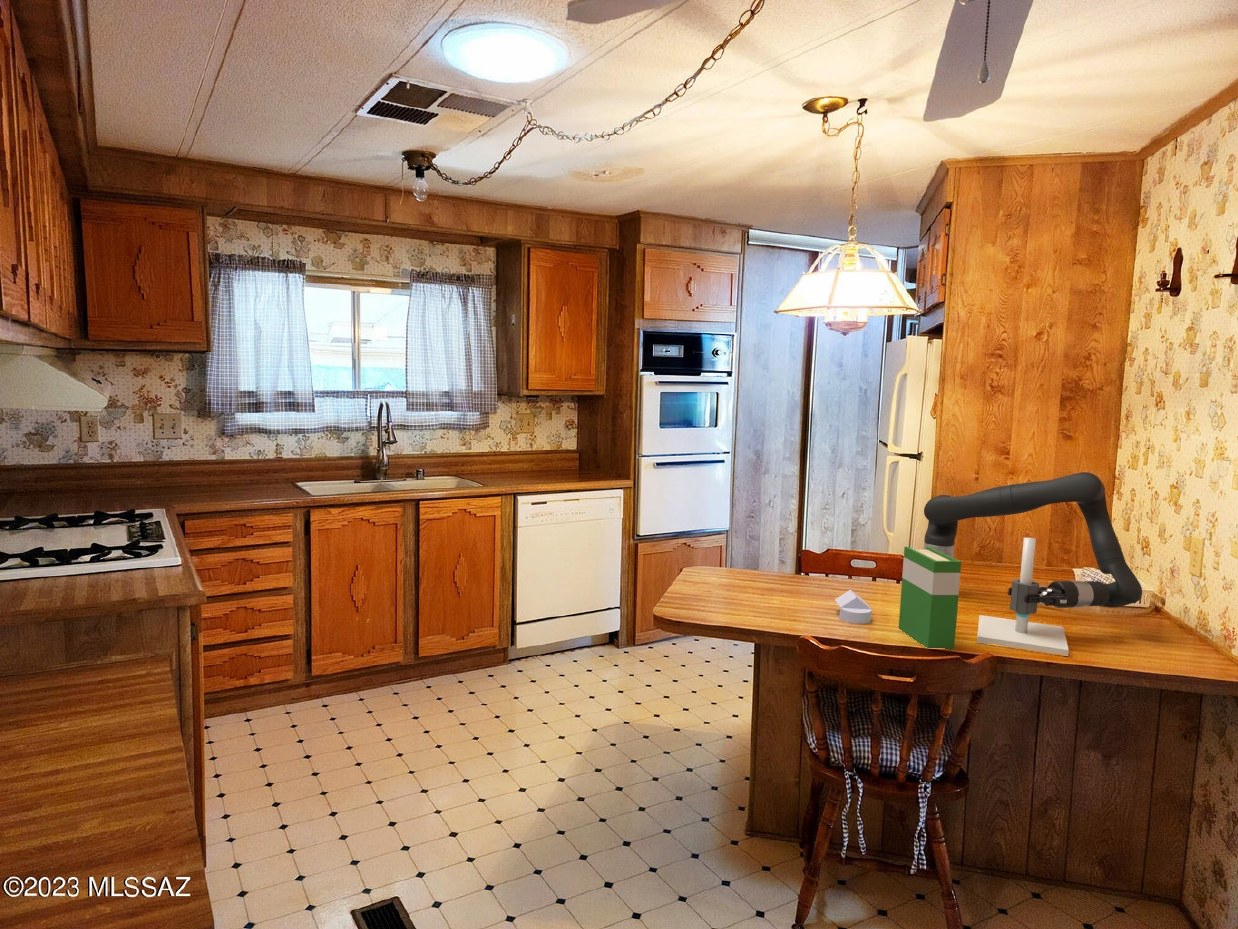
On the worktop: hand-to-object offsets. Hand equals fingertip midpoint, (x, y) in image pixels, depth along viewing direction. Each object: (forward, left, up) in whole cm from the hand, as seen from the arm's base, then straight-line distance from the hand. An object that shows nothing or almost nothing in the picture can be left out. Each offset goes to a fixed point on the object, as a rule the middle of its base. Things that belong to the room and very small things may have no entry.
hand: (1017, 595), depth 227 cm
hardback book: (-22, -13, -13) cm, 28 cm away
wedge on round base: (-43, -3, -13) cm, 45 cm away
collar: (+2, +1, -4) cm, 5 cm away
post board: (+2, +1, -12) cm, 13 cm away
